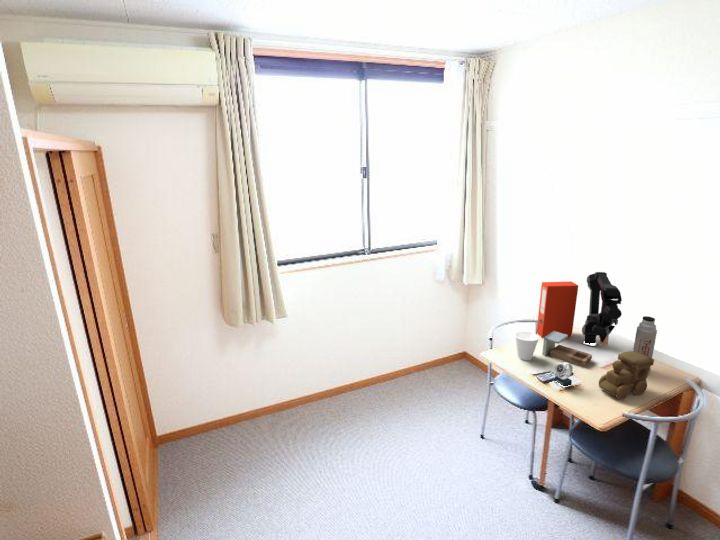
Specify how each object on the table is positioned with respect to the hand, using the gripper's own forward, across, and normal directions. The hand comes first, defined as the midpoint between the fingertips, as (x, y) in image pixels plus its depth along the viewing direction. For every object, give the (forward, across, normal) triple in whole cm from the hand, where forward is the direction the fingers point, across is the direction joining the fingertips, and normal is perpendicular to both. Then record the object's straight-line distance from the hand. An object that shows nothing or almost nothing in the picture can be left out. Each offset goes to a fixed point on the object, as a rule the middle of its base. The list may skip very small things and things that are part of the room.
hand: (603, 340), depth 210 cm
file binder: (+12, -16, -30) cm, 36 cm away
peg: (+2, 0, 0) cm, 2 cm away
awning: (+12, +7, -20) cm, 25 cm away
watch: (+12, +35, -5) cm, 38 cm away
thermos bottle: (+12, -4, +17) cm, 21 cm away
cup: (+12, +22, -30) cm, 39 cm away
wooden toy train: (+12, +22, +16) cm, 30 cm away
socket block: (+12, +7, -11) cm, 18 cm away
